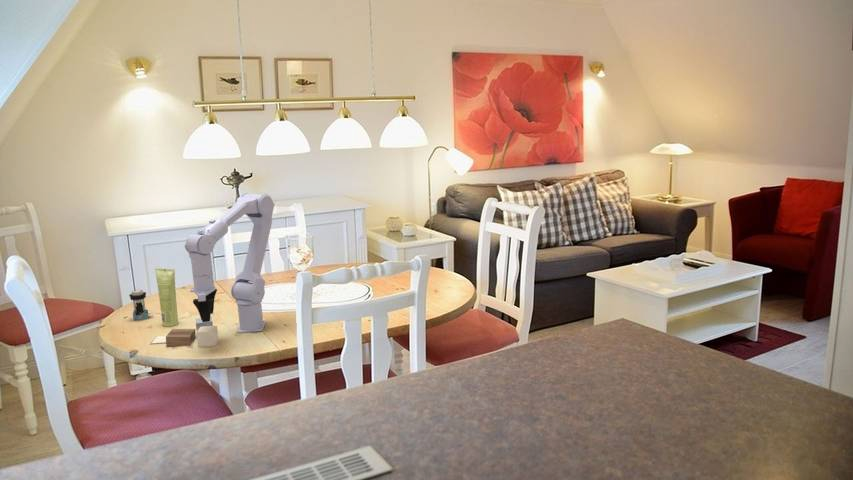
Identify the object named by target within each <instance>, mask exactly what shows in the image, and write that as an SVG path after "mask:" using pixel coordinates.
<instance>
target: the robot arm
mask: <svg viewBox="0 0 853 480" xmlns="http://www.w3.org/2000/svg"><path fill="white" fill-rule="evenodd" d="M274 207H275V203H274V201H273V199H272V197H271V196H270V195H269V194H266V193H264V194H260V193H248V192H244V193H242V194H241V195H240V196H239V197H238V198H237V199H236V203H234V204H233V206H231V207H230V208H229V209H228V210H227V211H226V212H225V213H224V214H223V215H222V216H221V217H220V218H214V219H213V218H212V219H209V221H208V223H207V224H206V225H205V226H204V227H203V228H200V229H199V230H198V232H197V233H194V234H190V235H189V236H188V237H187V238H186V241H185V244H184V249H185V251H186V252H187V253H188V255H189V259H190V263H191V271H192V280H193V288H192V287H191V288H190V289H189V290H190V293H194V294H195V295H196V296H197V298H194V299H193V300H192V303H193V305H194V306H195V308H196V309H197V312H198V314H199V316H200V318H201V320H202V322H209V321H210V317H212V316H211V315H212V314H214V310H215V309H214V307H215V298H216V294H217V292H218V289H217V288H216V286H215V280H214V273H213V270H214V269H213V262H212V252H213V251H214V248H215V245H216V244H217V242H218V241H220V240H221V239H222V238H223V237H224V236H225V235H226V234H228V232H229V227H230V226H232V225H233V224H234V223H236V222H237V221H238V220H240V219H241V218H242V217H243V216H245V215H246V217H247V218H249V220H251V222H252V224H253V227H252V231H251V236H250V240H249V244H248V247H247V248H248V249H247V253H246V257H245V262H244V265H243V269H242V271H241V272H240V273H239V274H237V275H236V276H235V279H234V282H233V283H232V285H231V288H230V294H231V297H232V298H233V299H235V303H236V304H237V312H238V313H237V315H238V323H239V326H238V328H237V330H236V333H238V334H239V333H240V334H241V333H253V332H262V331H264V327H265V325H266V323H267V320H264V318H263V308H262V302H263V299H264V298H265V292H266V290H265V284H266V281H265V279H264V278H263V277H262V276H261V273H262V268H263V265H264V264H263V263H264V258H265V254H266V251H267V245H268V242H269V238H270V233H271V229H272V224H273V213H274V209H275V208H274Z"/></svg>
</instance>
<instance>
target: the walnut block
mask: <svg viewBox="0 0 853 480" xmlns="http://www.w3.org/2000/svg"><path fill="white" fill-rule="evenodd" d="M165 336H166V344H165V347H184V346H185V347H186V346H191V345H192V343H193V342H194V340H195V339H196V338H197V335H196V328H171V330H170V331H169V332H168V333H167V334H166V335H165Z"/></svg>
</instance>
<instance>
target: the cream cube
mask: <svg viewBox="0 0 853 480" xmlns="http://www.w3.org/2000/svg"><path fill="white" fill-rule="evenodd" d="M218 330H219V329H218V325H213V326H204V327H200V328H199V329H198V331H197V330H196V341H197V347H198V348H203V347H204V348H205V347H206V348H207V347H216V345H217V343H218V342H219V331H218Z"/></svg>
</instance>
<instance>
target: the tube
mask: <svg viewBox="0 0 853 480" xmlns="http://www.w3.org/2000/svg"><path fill="white" fill-rule="evenodd" d="M154 272H155V277H156V284H157V291H158V297H159V305H160V306H159V307H160V312H161V313H160V314H161V321H162V326H163V327H166V328H167V327H168V328H172V327H175V326H178V325H179V315H178V305H177V293H176V292H177V291H176V290H177V289H176V277H175V276H176V274H175V273H176V272H175V269H173V268H158V267H155V268H154Z"/></svg>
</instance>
